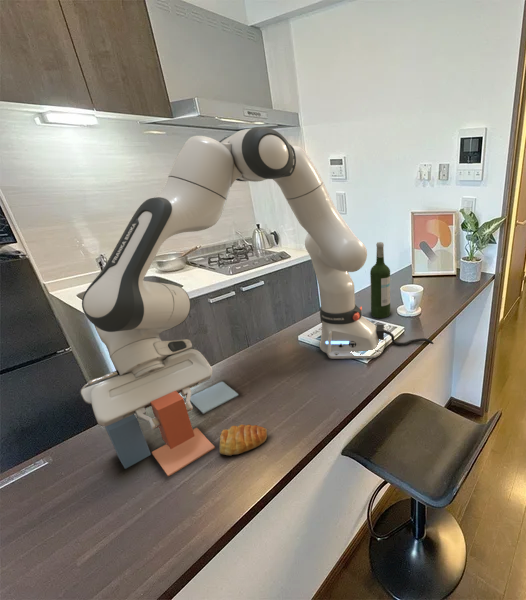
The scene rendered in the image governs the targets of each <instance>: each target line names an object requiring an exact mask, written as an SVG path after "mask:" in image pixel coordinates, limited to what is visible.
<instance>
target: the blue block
mask: <svg viewBox="0 0 526 600" xmlns="http://www.w3.org/2000/svg"><path fill="white" fill-rule="evenodd" d="M104 428H105V431H106V433H107V435H108V437H109V440H110V442H111V444H112V447H113V449H114V452H115V454H116V456H117V458H118V459H119V461H120V462H121V465H122V466H123V468H124V469H125V470H126V469H128V468H130V467H131V466H134V465H135V464H137V463H139V462H141V461H143V460H144V459H146V458H148V457H149V456H152V452H151V451H150V448H149V445H148V442H147V440H146V437H145V435H144V433H143V430H142V428H141V424H140V422H139V419H138V418H137V416H136V414H133V415H131V416H129V417H126V418H124V419H122V420H120V421H118V422H115V423H113V424H111V425H109V426H104Z"/></svg>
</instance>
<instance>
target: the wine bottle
mask: <svg viewBox="0 0 526 600" xmlns="http://www.w3.org/2000/svg"><path fill="white" fill-rule="evenodd" d="M384 246H385V245H384V242H382V241H377V242H376V255H375V256H376V257H375V258H376V259H375V264H374V265H373V266H371V268H370V272H369V275H370V276H369V278H370V279H369V280H370V315H371V316H372V317H373V318H375V319H386V318H388V317H390V315H391V269H390V267H389V266H388V265H387V264H386V263H385V253H384V251H385V250H384Z"/></svg>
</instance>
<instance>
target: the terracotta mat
mask: <svg viewBox="0 0 526 600" xmlns="http://www.w3.org/2000/svg"><path fill="white" fill-rule="evenodd" d="M192 429H193V432H194V437H192V438H190V439H189V440H187V441H185V442H183V443H182V444H180V445H178V446H176V447H174V448H173V449H170V448H169V446H168V445H167V444H166V443H165V444H164V445H162V446H159V447H158V448H157V449H155V450H153V451H151V455H152V456H153V457H154V458H155V460H156V462H157V463H158V464H159V466H160V467H161V469H162V470H163V472H164V473H165V474H166V476H167V477H168V478H169V477H171V476H172V475H174V474H175V473H177V472H178V471H180V470H182V469H183V468H185V467H187V466H189V465H190V464H192V463H193V462H195V461H196V460H199V459H200V458H201V457H203V456H205V455H206V454H208V453H209V452H211V451H213V450H215V449H216V446H215V445H214V444H213V443H212V442H211V441H210V440H209V439H208V438H207V437H206V436H205V435H204V434H203V432H202V431H201V430H200V429H199V428H198V427H194V428H192Z"/></svg>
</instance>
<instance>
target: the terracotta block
mask: <svg viewBox="0 0 526 600" xmlns="http://www.w3.org/2000/svg"><path fill="white" fill-rule="evenodd" d="M150 403H151V406H150V407H151V410H152V413H153V417H154V418H155V417H158V419H159V421H160V423H161V426H159V427H158V430H159V433H160V436H161V438H162V440H163V441H164V443H165V445H166V444H167V445H168V446H169V448H170V449H173V448H174V447H176V446H178V445H180V444H182V443H183V442H185V441H187V440H189V439H190V438H192V437H194V432H193V429H194V428H193V426H192V423H191V419H190V416H189V412H187V409H186V405H185V399H184V397H183V396H182V394H181V393H178V392H177V391H174V392H171V393H169V394H167V395H165V396H162V397H160V398H158V399H156V400H153V401H151V402H150Z"/></svg>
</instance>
